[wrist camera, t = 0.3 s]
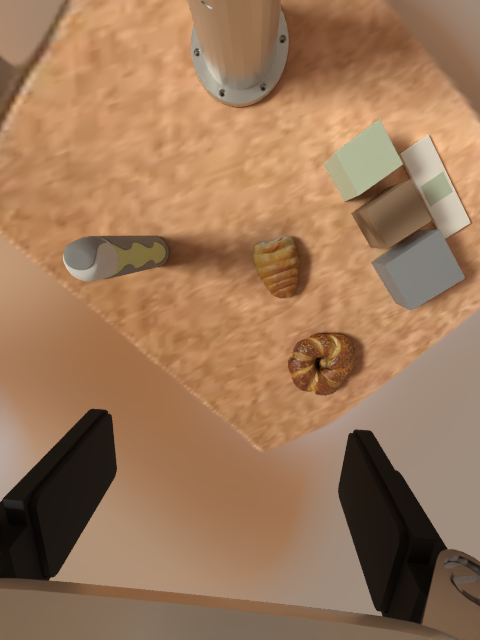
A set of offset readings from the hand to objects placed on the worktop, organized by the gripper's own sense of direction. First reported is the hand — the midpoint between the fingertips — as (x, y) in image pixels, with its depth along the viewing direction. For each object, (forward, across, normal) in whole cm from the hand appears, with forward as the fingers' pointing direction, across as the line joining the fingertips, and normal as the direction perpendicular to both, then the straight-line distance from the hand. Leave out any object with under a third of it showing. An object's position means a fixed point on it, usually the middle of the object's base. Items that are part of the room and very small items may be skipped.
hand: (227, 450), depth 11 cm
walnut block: (+36, -19, -12) cm, 42 cm away
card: (+36, -26, -16) cm, 47 cm away
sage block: (+36, -14, -18) cm, 43 cm away
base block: (+36, -24, -5) cm, 44 cm away
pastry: (+36, -4, -4) cm, 37 cm away
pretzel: (+36, -13, +12) cm, 40 cm away
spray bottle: (+36, +16, -5) cm, 40 cm away
